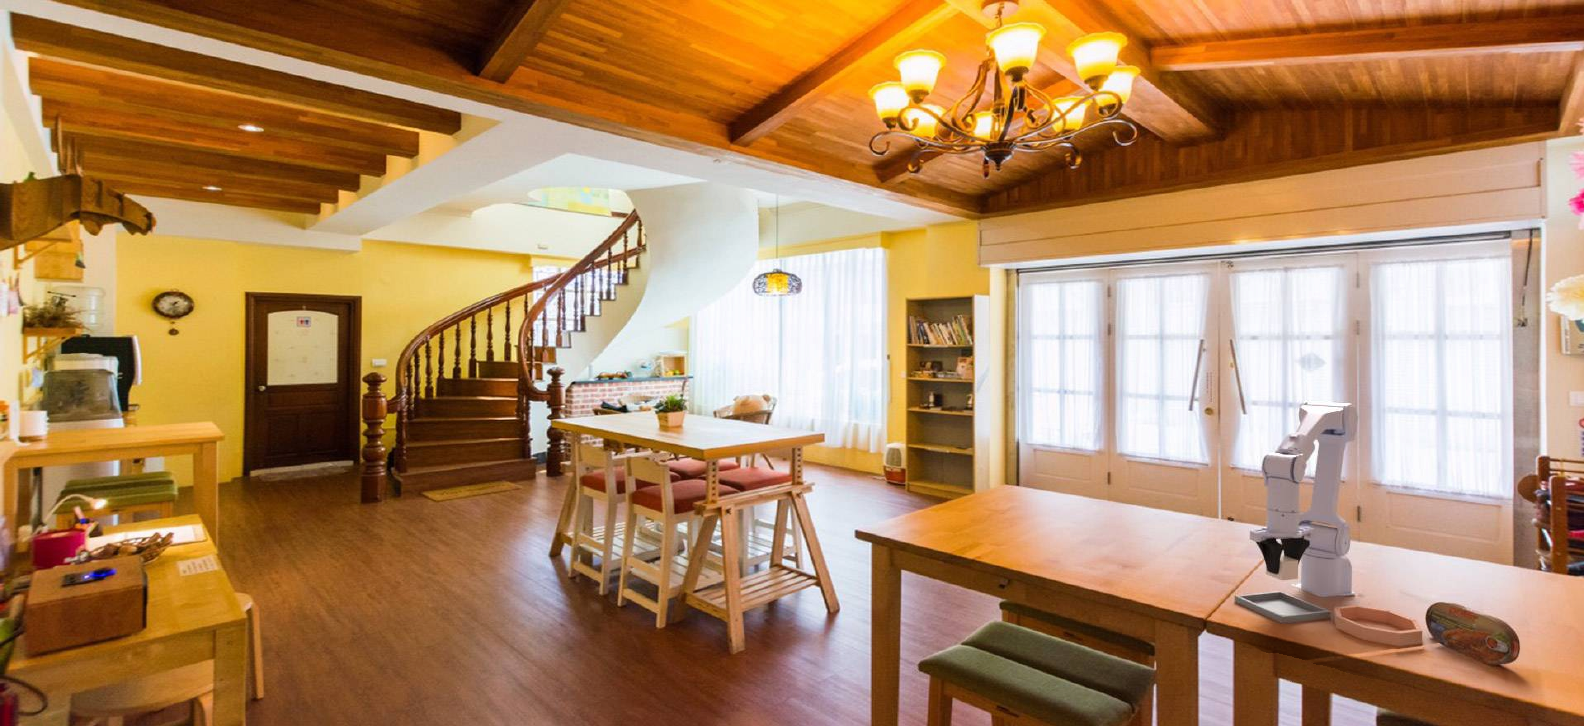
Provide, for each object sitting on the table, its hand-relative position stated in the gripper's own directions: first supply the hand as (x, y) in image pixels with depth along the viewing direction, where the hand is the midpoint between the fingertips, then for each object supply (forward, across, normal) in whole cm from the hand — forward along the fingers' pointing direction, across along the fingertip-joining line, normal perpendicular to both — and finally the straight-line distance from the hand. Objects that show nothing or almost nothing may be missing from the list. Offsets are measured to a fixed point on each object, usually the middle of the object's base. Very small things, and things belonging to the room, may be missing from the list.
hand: (1281, 571), depth 151 cm
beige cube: (+1, 0, 0) cm, 1 cm away
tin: (+9, +17, -24) cm, 31 cm away
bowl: (+9, +9, -13) cm, 18 cm away
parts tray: (+9, 0, 0) cm, 9 cm away
